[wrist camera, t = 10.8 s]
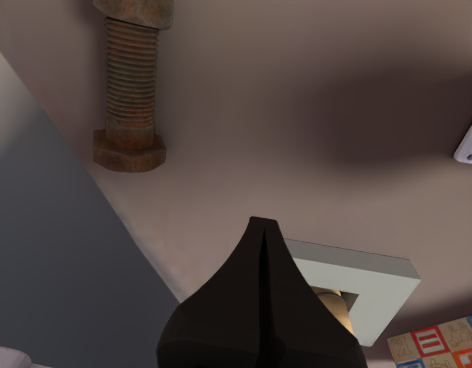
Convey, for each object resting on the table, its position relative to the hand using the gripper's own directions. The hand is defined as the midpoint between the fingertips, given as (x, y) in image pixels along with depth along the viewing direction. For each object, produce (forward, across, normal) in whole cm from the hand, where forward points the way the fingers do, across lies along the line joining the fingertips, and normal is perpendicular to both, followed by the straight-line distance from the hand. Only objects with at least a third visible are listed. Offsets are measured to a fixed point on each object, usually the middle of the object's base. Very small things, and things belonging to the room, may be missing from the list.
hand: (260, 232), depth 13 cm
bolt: (+10, +10, -6) cm, 16 cm away
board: (+10, -9, +15) cm, 20 cm away
